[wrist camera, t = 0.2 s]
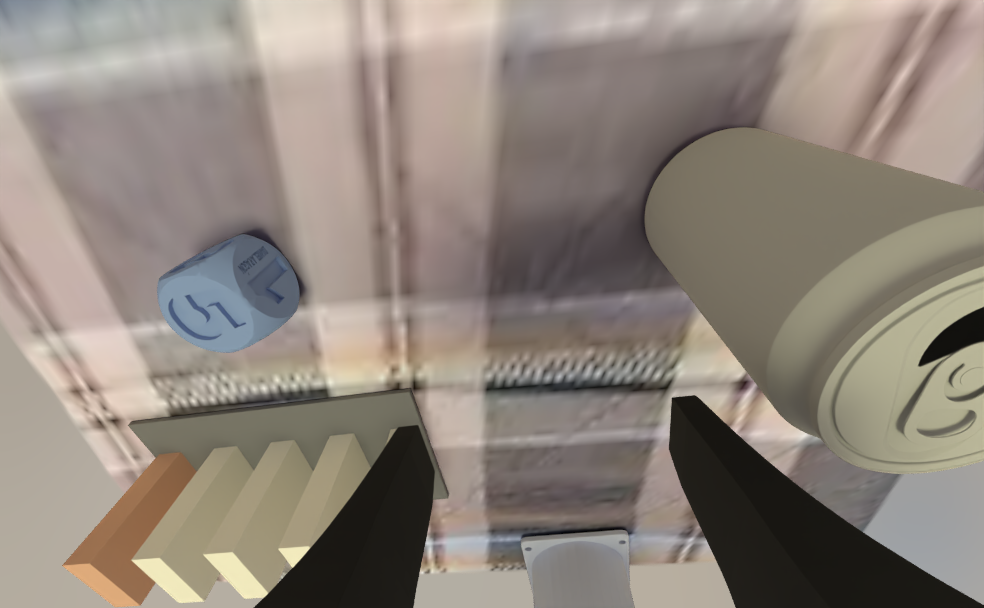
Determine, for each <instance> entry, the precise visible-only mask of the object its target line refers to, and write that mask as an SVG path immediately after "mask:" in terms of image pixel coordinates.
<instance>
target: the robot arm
mask: <svg viewBox="0 0 984 608" xmlns="http://www.w3.org/2000/svg"><path fill="white" fill-rule="evenodd" d="M669 450H670V454H671V457H672V460H673V463H674V466H675V469H676V472H677V475H678V477H679V480H680V483H681V486H682V488H683V490H684V493H685V495H686V497H687V499H688V501H689V503H690V505H691V508H692V510H693V512H694V514H695V516H696V518H697V521H698V523H699V525H700V527H701V529H702V531H703V533H704V535H705V538H706V540H707V542H708V544H709V546H710V548H711V550H712V552H713V555H714V557H715V559H716V561H717V563H718V565H719V567H720V569H721V571H722V574H723V576H724V578H725V581H726V583H727V586H728V588H729V591H730V593H731V596H732V599H733V601H734V604H735V607H736V608H984V605H982V604H981V603H979V602H977V601H975V600H974V599H972V598H970V597H968V596H967V595H964V594H963V593H961V592H959V591H958V590H956V589H954V588H952V587H951V586H949V585H947V584H945V583H944V582H942V581H940V580H939V579H937V578H935V577H933V576H932V575H930V574H928V573H927V572H925V571H923V570H922V569H920V568H919V567H917V566H915V565H914V564H912V563H911V562H909V561H907V560H906V559H904V558H903V557H901V556H899V555H898V554H896V553H895V552H893V551H891V550H890V549H888V548H886V547H885V546H883V545H882V544H880V543H878V542H877V541H875V540H874V539H872V538H871V537H869V536H868V535H866V534H865V533H863V532H862V531H860V530H859V529H857V528H856V527H854V526H853V525H851V524H850V523H848V522H847V521H845V520H844V519H843V518H841V517H840V516H838V515H837V514H836V513H834V512H833V511H831V510H830V509H828V508H827V507H826V506H824V505H823V504H822V503H820V502H819V501H818V500H816V499H815V498H813V497H812V496H811V495H810V494H808V493H807V492H806V491H804V490H803V489H802V488H800V487H799V486H798V485H797V484H795V483H794V482H793V481H792V480H790V479H789V478H788V477H787V476H785V475H784V474H783V473H782V472H780V471H779V470H778V469H777V468H775V467H774V466H773V465H772V464H771V463H769V462H768V461H767V460H766V459H765V458H764V457H762V456H761V455H760V454H759V453H758V452H757V451H756V450H754V449H753V448H752V447H751V446H750V445H749V444H747V443H746V442H745V441H744V440H743V439H742V438H741V437H740V436H738V435H737V434H736V433H735V432H734V431H733V430H732V429H731V428H730V427H729V426H728V425H727V424H725V423H724V422H723V421H722V420H721V419H720V418H719V417H718V416H717V415H716V414H715V413H714V412H713V411H712V410H711V409H710V408H709V407H708V406H707V405H705V404H704V403H703V402H702V401H701V400H700V399H699V398H698V397H697V396H695V395H693V396H684V397H674V398H672V406H671V423H670V441H669ZM434 478H435V470H434V467H433V464H432V461H431V459H430V456H429V453H428V450H427V448H426V445H425V442H424V439H423V437H422V434H421V431H420V428H419V426H418V425H412V426H403V427H398V428H397V429H396V431H395V432H394V434H393V435H392V437H391V438H390V440H389V441H388V443H387V444H386V446H385V447H384V449H383V451H382V452H381V454H380V455H379V457H378V458H377V460H376V461H375V463H374V464H373V466H372V467H371V469H370V470H369V472H368V473H367V474H366V476H365V477H364V479H363V480H362V482H361V483H360V485H359V486H358V487H357V489H356V490H355V492H354V493H353V495H352V496H351V497H350V499H349V500H348V501H347V503H346V504H345V505H344V507H343V508H342V509H341V510H340V512H339V513H338V514H337V516H336V517H335V518H334V520H333V521H332V522H331V524H330V525H329V526H328V527H327V529H326V530H325V531H324V532H323V534H322V535H321V536H320V537H319V538H318V540H317V541H316V542H315V543H314V544H313V546H312V547H311V548H310V549H309V550H308V551H307V552H306V554H305V555H304V556H303V557H302V558H301V559H300V560H299V562H298V563H297V564H296V565H295V566H294V567H293V568H292V569H291V570H290V571H289V572H288V573H287V574H286V575H285V577H284V578H283V579H282V580H281V581H280V582H279V583H278V584H277V585H276V586H275V587H274V588H273V589H272V590H271V591H270V592H269V593H268V594H267V595H266V596H265V597H264V598H263V599H262V600H261V601H260V602H259V603H258V604H257V605H256V606H255V607H254V608H413V606H414V599H415V593H416V587H417V582H418V577H419V572H420V567H421V562H422V557H423V552H424V547H425V542H426V537H427V532H428V526H429V521H430V516H431V510H432V503H433V492H434ZM521 548H522V552H523V556H524V560H525V564H526V568H527V572H528V576H529V580H530V584H531V588H532V592H533V598H534V608H635V607H634V603H633V598H632V594H631V591H630V582H629V581H630V578H629V536H628V533H627V531H625V530H611V531H597V532H584V533H571V534H558V535H545V536H532V537H524V538H522V539H521Z"/></svg>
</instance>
